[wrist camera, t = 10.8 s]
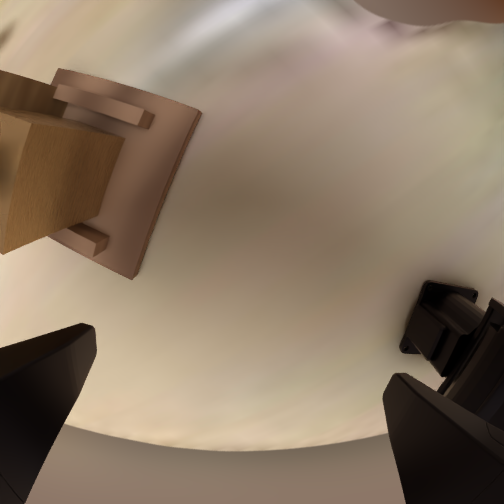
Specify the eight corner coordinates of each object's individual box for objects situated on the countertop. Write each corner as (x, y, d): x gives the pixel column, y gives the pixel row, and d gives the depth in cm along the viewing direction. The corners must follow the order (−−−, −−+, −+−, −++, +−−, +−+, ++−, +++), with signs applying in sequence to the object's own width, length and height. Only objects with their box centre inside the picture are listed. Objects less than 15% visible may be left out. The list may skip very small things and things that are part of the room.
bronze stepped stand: (201, 113, 18) (153, 63, 8) (137, 274, 21) (65, 349, 11) (66, 71, 17) (-24, 37, 7) (21, 213, 20) (-70, 243, 10)
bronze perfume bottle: (125, 138, 17) (-25, 118, 5) (97, 216, 19) (-45, 278, 7) (75, 120, 17) (-70, 100, 5) (52, 193, 18) (-89, 231, 6)
